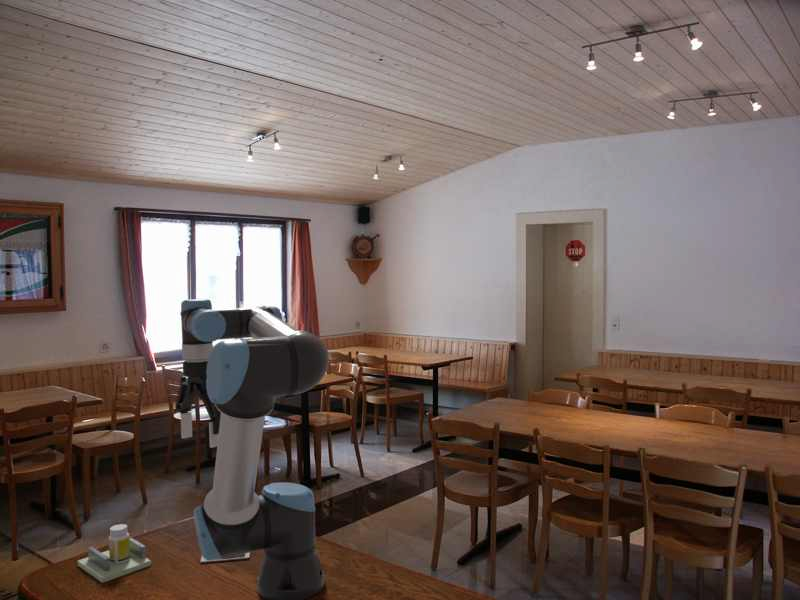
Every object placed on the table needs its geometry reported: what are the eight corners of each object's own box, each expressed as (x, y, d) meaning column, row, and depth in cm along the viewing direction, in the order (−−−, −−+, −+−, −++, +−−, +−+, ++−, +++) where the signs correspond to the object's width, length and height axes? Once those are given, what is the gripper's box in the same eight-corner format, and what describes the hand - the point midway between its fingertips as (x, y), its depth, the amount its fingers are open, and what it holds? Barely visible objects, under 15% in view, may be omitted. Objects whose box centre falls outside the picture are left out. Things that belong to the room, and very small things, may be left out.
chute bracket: (145, 557, 166) (145, 545, 166) (105, 571, 158) (105, 559, 158) (127, 546, 172) (127, 535, 172) (88, 559, 165) (87, 547, 165)
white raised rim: (205, 545, 176) (205, 528, 176) (252, 541, 178) (251, 524, 178) (200, 566, 164) (199, 547, 164) (249, 561, 167) (249, 543, 166)
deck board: (150, 565, 164) (150, 560, 164) (102, 582, 155) (102, 577, 155) (125, 549, 173) (124, 545, 173) (77, 565, 165) (77, 560, 165)
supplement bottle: (133, 555, 167) (132, 523, 166) (126, 564, 162) (124, 530, 162) (114, 556, 167) (112, 523, 166) (106, 564, 162) (105, 531, 161)
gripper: (238, 362, 163) (241, 447, 164) (186, 354, 180) (188, 431, 181) (211, 366, 158) (214, 453, 159) (160, 357, 175) (162, 436, 176)
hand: (200, 442), depth 170 cm, fingers open, 13 cm apart
